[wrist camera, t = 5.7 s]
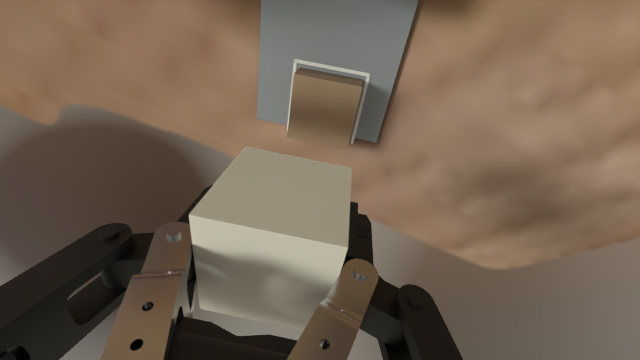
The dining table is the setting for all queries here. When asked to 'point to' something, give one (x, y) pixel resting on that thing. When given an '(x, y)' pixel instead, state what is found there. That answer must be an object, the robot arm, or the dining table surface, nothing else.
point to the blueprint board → (332, 52)
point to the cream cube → (271, 237)
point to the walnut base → (323, 107)
